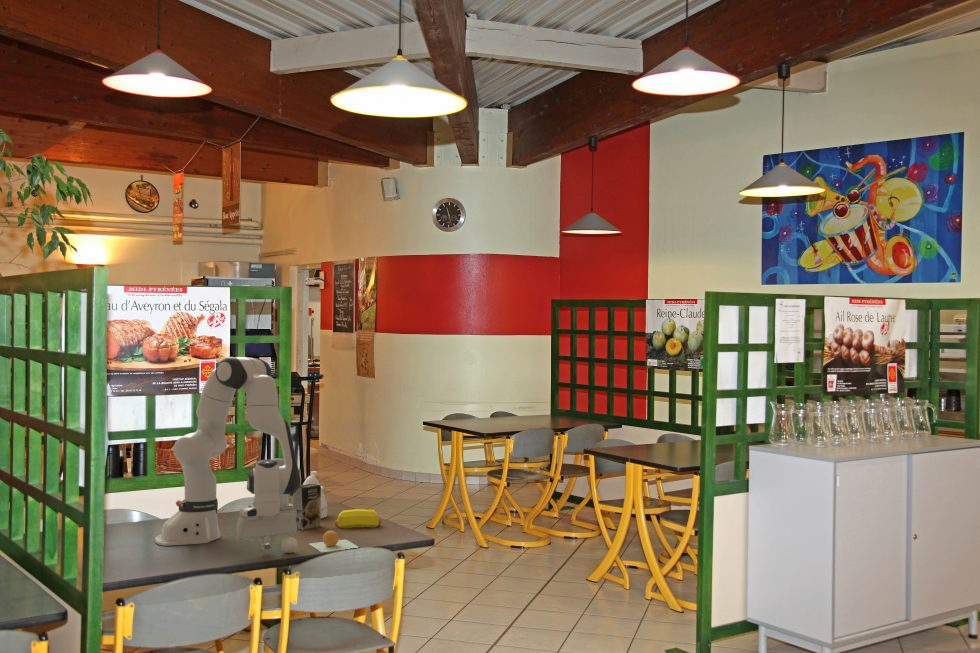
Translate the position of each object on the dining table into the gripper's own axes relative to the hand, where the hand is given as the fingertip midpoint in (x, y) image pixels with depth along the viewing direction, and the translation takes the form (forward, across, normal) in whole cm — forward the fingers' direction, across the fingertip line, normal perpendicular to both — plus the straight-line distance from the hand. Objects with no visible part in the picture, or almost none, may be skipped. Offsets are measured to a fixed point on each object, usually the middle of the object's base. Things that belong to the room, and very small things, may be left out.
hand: (266, 549), depth 305 cm
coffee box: (+2, -25, -34) cm, 42 cm away
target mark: (+2, -24, 0) cm, 24 cm away
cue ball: (-1, -7, +2) cm, 8 cm away
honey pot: (+2, -33, -53) cm, 62 cm away
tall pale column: (+2, -24, -71) cm, 75 cm away
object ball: (-1, -23, 0) cm, 23 cm away
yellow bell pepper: (+2, -43, -26) cm, 50 cm away
